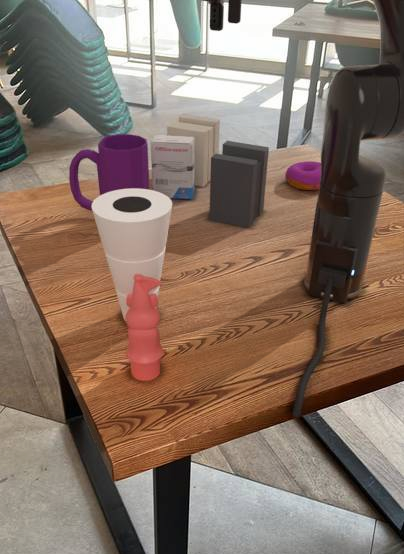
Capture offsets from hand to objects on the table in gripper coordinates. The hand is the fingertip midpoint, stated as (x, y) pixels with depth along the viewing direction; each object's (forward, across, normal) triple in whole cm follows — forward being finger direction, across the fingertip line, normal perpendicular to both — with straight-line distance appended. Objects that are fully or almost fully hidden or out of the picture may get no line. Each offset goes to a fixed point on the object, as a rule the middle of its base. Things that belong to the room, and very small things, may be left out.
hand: (225, 26), depth 101 cm
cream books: (+32, +9, +10) cm, 35 cm away
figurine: (+32, -56, -12) cm, 66 cm away
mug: (+32, -17, +16) cm, 40 cm away
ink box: (+32, -2, +10) cm, 34 cm away
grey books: (+32, -6, -6) cm, 33 cm away
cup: (+32, -45, -5) cm, 56 cm away
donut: (+32, +16, -15) cm, 39 cm away
